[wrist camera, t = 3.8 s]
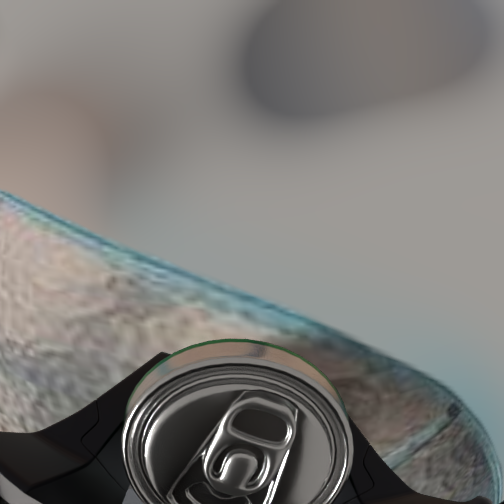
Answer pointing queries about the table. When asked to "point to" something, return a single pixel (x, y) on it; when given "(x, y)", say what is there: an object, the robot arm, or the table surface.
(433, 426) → the table surface
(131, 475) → the soda can
